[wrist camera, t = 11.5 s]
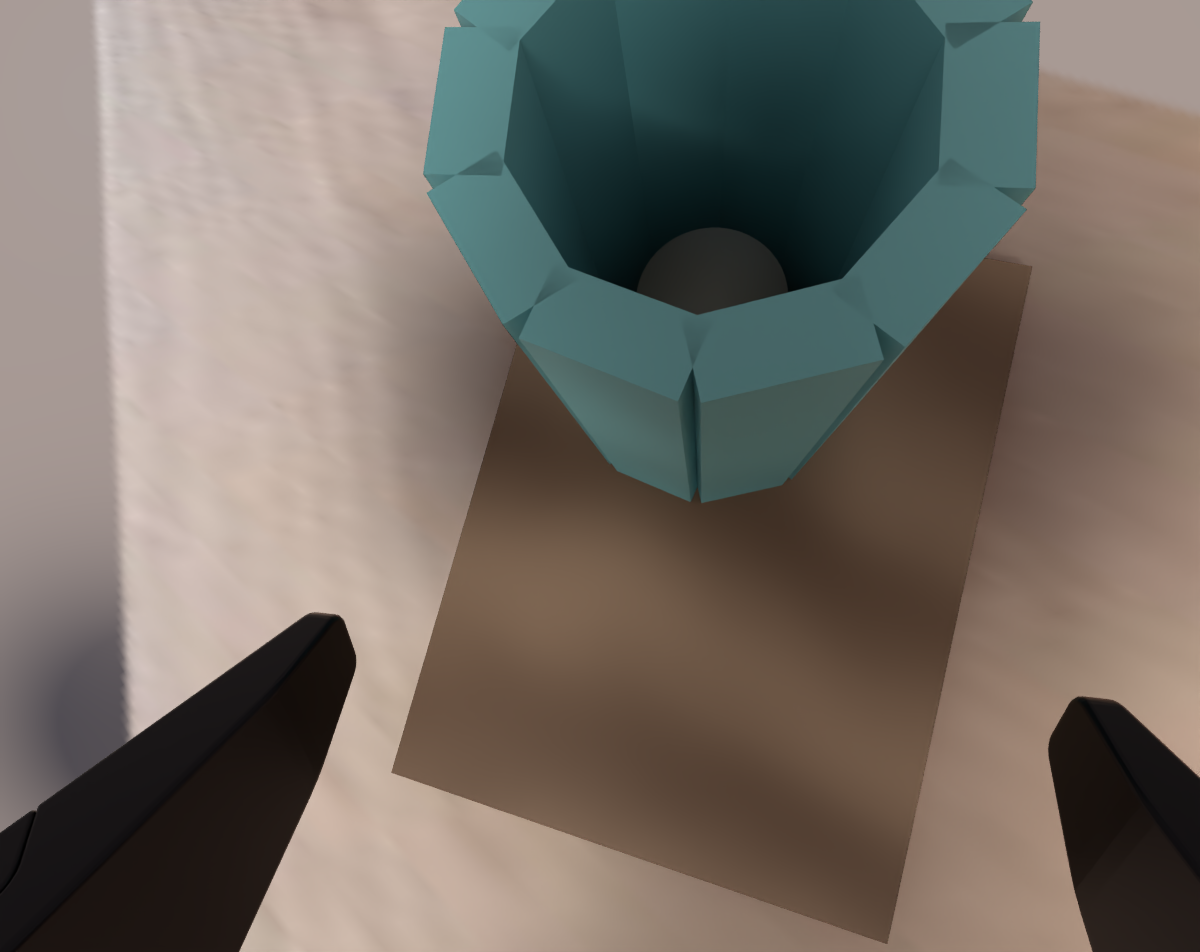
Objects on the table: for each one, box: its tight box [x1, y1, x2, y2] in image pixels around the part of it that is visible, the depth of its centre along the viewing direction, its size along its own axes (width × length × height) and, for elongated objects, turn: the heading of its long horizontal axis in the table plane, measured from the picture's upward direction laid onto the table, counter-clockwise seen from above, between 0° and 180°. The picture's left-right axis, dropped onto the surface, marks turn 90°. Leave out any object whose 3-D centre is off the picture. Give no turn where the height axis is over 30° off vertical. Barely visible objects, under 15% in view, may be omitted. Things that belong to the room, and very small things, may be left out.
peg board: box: [391, 228, 1032, 944], centre depth 16 cm, size 16×12×5 cm
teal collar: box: [423, 0, 1040, 503], centre depth 13 cm, size 7×7×10 cm
